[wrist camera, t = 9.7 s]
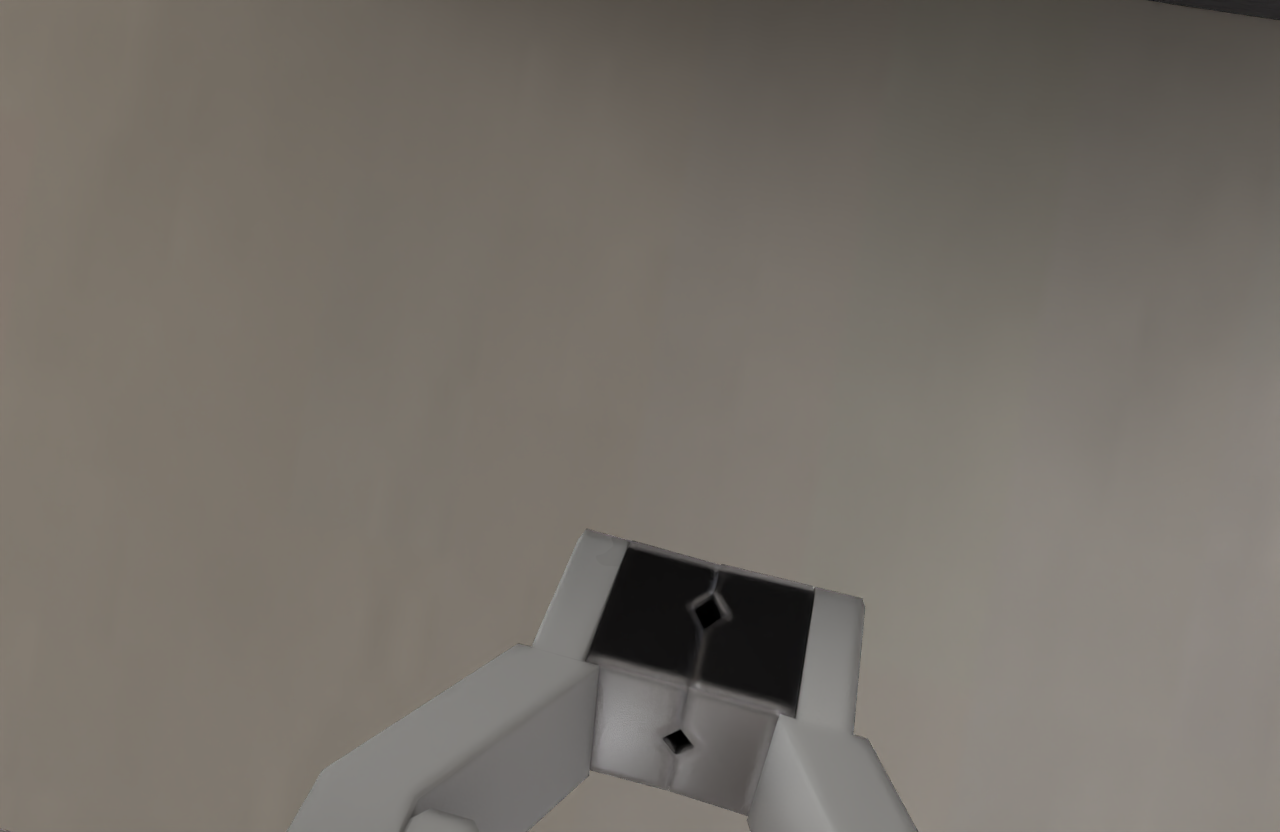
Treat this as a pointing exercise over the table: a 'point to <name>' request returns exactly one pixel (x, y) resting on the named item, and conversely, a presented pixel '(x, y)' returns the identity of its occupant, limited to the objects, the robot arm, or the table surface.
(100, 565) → the table surface
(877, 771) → the robot arm
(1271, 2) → the oven door
